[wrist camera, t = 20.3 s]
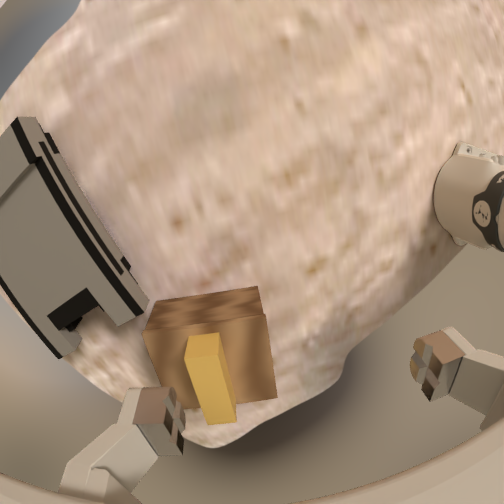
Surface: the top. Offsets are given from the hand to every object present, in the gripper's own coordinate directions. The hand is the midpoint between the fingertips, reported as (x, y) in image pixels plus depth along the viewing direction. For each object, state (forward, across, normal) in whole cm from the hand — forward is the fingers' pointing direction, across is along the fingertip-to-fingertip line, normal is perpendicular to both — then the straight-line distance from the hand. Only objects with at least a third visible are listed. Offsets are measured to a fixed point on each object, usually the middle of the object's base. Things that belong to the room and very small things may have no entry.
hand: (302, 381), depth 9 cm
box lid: (+26, +8, +21) cm, 34 cm away
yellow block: (+25, +8, +21) cm, 33 cm away
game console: (+35, +31, +1) cm, 47 cm away
